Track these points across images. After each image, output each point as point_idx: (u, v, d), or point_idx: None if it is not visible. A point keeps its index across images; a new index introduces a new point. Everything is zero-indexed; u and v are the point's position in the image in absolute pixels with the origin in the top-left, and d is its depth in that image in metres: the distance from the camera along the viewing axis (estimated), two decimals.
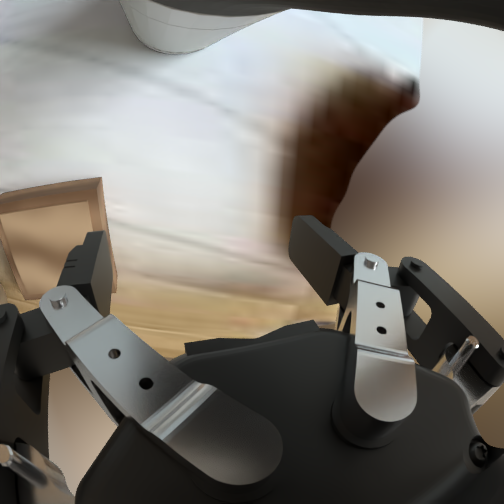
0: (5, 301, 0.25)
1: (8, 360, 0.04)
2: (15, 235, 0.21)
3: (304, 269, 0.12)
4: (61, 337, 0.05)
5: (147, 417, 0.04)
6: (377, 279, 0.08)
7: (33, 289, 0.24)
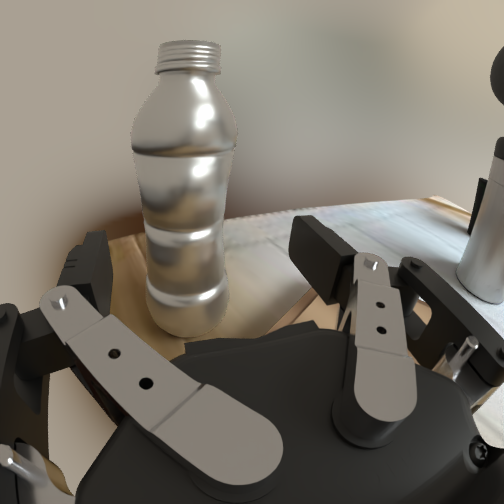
0: (210, 322, 0.20)
1: (8, 360, 0.04)
2: None
3: (304, 269, 0.12)
4: (61, 337, 0.05)
5: (147, 417, 0.04)
6: (377, 279, 0.08)
7: None
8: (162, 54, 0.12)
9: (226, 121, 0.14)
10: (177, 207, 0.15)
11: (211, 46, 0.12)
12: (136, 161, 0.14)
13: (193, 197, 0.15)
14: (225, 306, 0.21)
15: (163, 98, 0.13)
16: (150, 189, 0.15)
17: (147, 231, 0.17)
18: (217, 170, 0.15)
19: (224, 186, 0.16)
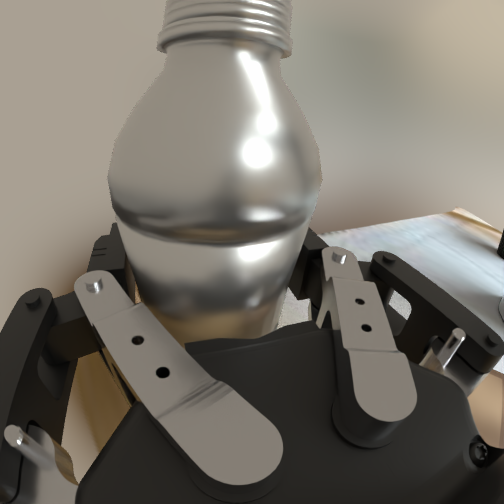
0: None
1: (35, 344, 0.05)
2: None
3: None
4: (90, 319, 0.06)
5: (157, 405, 0.04)
6: (348, 273, 0.08)
7: None
8: (175, 6, 0.05)
9: (313, 157, 0.07)
10: (211, 327, 0.08)
11: None
12: (122, 235, 0.07)
13: (243, 310, 0.08)
14: None
15: (177, 99, 0.05)
16: (156, 293, 0.08)
17: None
18: (290, 257, 0.08)
19: (291, 273, 0.09)
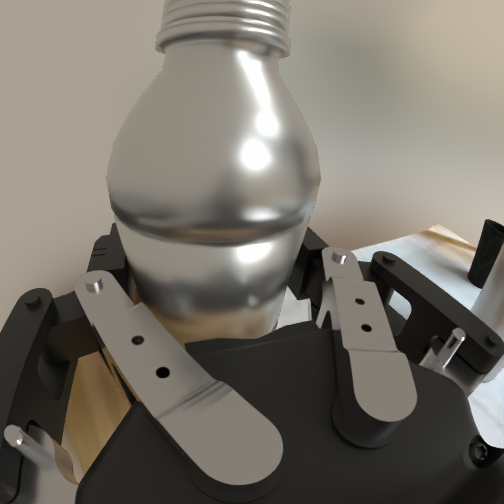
0: None
1: (35, 345, 0.05)
2: None
3: None
4: (90, 318, 0.06)
5: (157, 404, 0.04)
6: (348, 274, 0.08)
7: None
8: (173, 6, 0.05)
9: (312, 157, 0.07)
10: (209, 327, 0.08)
11: None
12: (121, 235, 0.07)
13: (242, 310, 0.08)
14: None
15: (175, 99, 0.05)
16: (154, 293, 0.07)
17: None
18: (289, 257, 0.08)
19: (290, 273, 0.09)
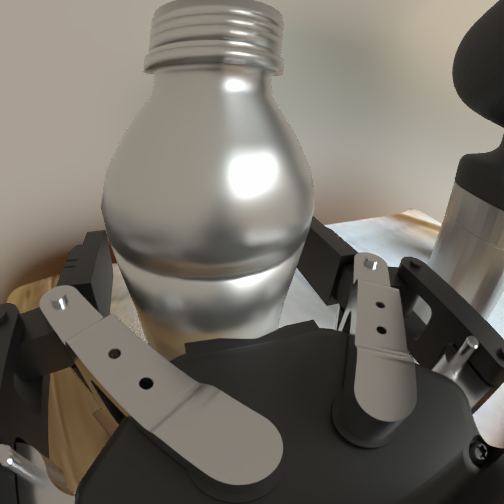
0: None
1: (8, 360, 0.04)
2: None
3: (304, 269, 0.12)
4: (61, 337, 0.05)
5: (147, 417, 0.04)
6: (376, 279, 0.08)
7: None
8: (159, 28, 0.05)
9: (305, 185, 0.07)
10: None
11: (271, 15, 0.05)
12: (118, 263, 0.07)
13: (238, 334, 0.08)
14: None
15: (163, 133, 0.05)
16: (153, 318, 0.08)
17: None
18: (283, 283, 0.08)
19: (286, 294, 0.09)
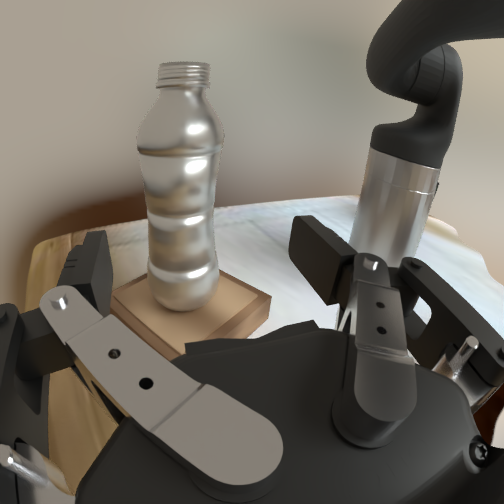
0: (202, 297, 0.23)
1: (8, 360, 0.04)
2: None
3: (304, 269, 0.12)
4: (61, 337, 0.05)
5: (147, 417, 0.04)
6: (376, 279, 0.08)
7: (124, 297, 0.25)
8: (161, 73, 0.15)
9: (213, 128, 0.17)
10: (174, 197, 0.19)
11: (201, 66, 0.16)
12: (141, 160, 0.18)
13: (187, 189, 0.18)
14: (215, 284, 0.24)
15: (163, 110, 0.16)
16: (152, 183, 0.18)
17: (149, 218, 0.20)
18: (206, 167, 0.18)
19: (213, 180, 0.20)
